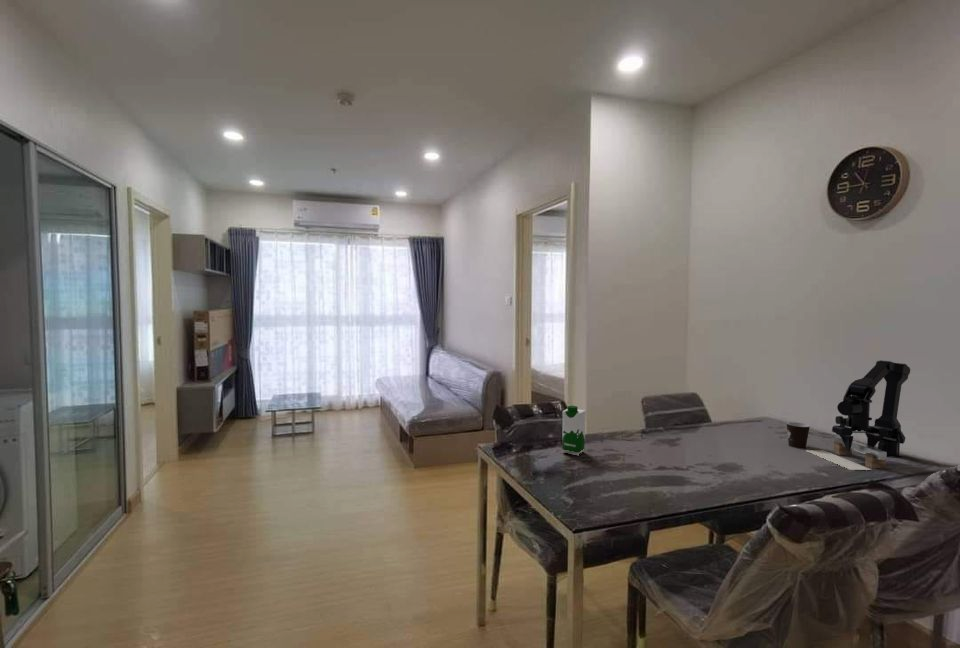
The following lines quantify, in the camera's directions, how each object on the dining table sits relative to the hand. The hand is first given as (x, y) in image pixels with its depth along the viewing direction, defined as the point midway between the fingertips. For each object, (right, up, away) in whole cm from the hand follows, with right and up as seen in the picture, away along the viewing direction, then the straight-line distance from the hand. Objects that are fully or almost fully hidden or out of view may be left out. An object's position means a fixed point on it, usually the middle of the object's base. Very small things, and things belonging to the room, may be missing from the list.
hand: (858, 451), depth 188 cm
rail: (0, 0, 0) cm, 0 cm away
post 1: (0, -4, +8) cm, 9 cm away
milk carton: (-116, -2, +5) cm, 116 cm away
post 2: (0, -4, -8) cm, 9 cm away
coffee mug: (-11, -3, +20) cm, 23 cm away
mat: (-9, -4, 0) cm, 10 cm away
